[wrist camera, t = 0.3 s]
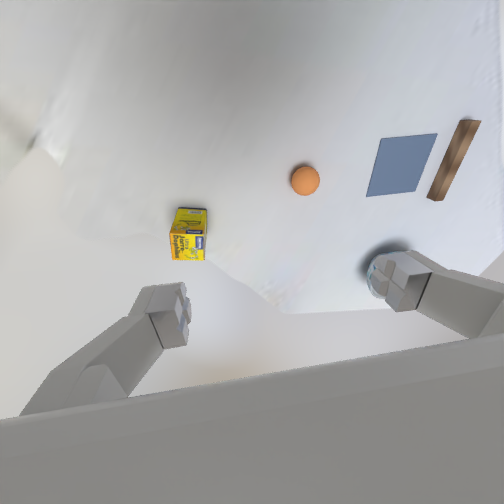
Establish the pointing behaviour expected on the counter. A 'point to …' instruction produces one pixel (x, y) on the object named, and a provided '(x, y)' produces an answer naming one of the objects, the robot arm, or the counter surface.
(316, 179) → the ball
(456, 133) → the bar
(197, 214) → the supplement box
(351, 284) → the counter surface
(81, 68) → the counter surface
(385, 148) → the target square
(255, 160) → the counter surface
